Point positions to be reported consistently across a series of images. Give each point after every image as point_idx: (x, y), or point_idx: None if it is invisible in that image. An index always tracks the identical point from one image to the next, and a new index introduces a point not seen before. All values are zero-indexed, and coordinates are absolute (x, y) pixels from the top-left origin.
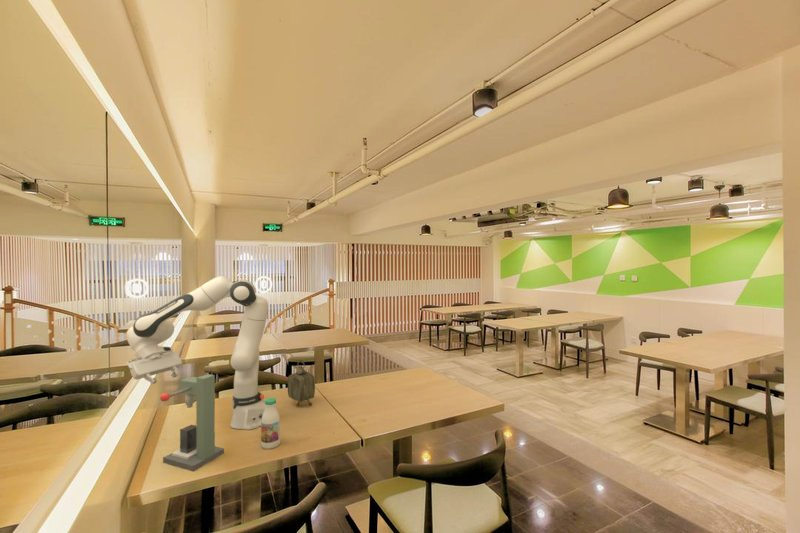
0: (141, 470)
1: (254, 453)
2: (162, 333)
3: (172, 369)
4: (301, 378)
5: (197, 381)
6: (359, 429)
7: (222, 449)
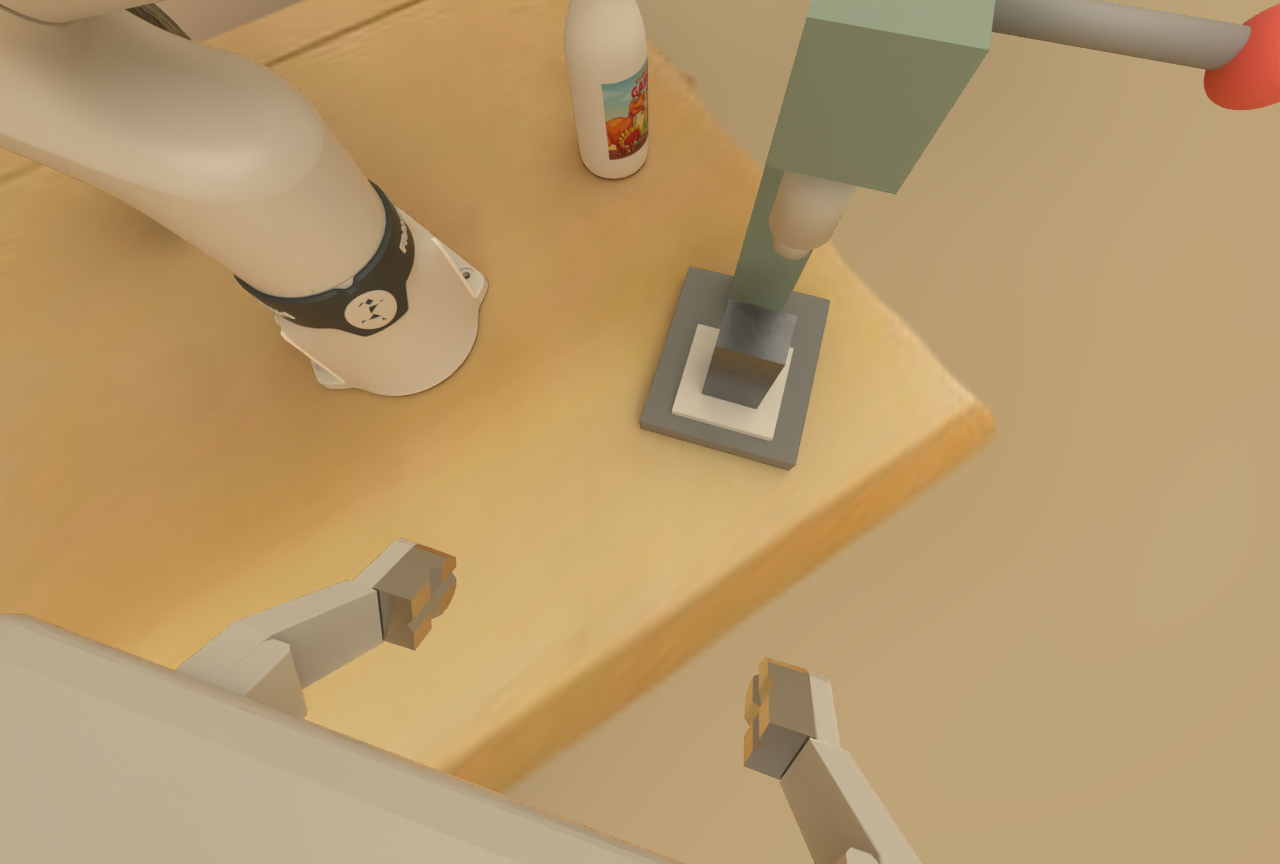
0: (858, 517)
1: (678, 179)
2: None
3: (286, 693)
4: None
5: None
6: None
7: (697, 268)
